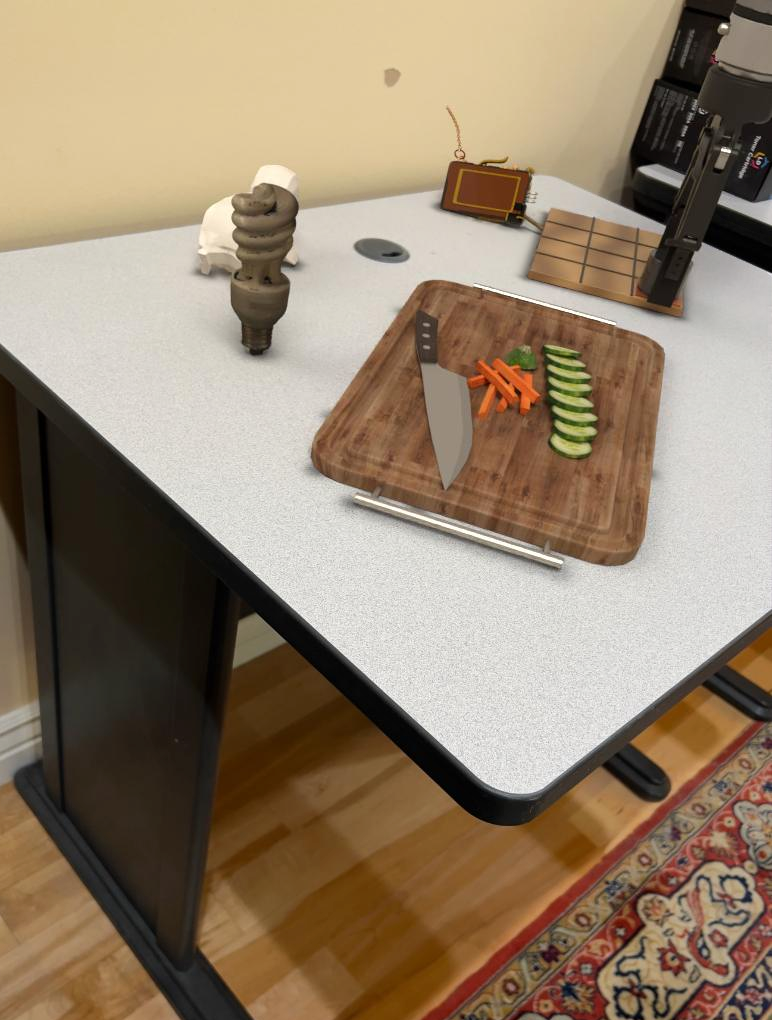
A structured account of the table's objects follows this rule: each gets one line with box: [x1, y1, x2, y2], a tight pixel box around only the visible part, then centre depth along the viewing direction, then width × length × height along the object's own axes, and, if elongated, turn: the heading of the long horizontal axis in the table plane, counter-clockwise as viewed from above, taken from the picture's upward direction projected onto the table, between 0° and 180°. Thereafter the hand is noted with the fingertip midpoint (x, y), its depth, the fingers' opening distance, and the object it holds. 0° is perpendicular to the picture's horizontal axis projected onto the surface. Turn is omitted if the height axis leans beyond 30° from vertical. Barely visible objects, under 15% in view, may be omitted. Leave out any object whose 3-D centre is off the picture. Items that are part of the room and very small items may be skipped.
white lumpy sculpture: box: [197, 164, 300, 276], centre depth 95 cm, size 9×8×15 cm
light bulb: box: [229, 183, 300, 356], centre depth 77 cm, size 6×6×15 cm
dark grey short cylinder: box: [637, 249, 694, 300], centre depth 102 cm, size 5×5×4 cm
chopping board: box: [310, 279, 666, 569], centre depth 81 cm, size 45×27×3 cm, turn 161°
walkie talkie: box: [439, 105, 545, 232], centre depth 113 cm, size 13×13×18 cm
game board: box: [527, 206, 684, 318], centre depth 112 cm, size 18×24×1 cm
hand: (659, 288), depth 104 cm, fingers open, 9 cm apart
